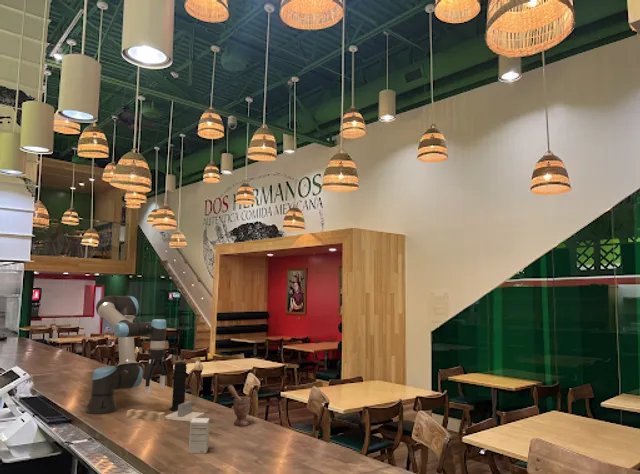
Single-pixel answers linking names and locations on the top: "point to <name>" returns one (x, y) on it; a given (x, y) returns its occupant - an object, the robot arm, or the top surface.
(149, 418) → the maple bar
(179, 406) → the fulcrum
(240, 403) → the mortar and pestle
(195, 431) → the supplement box
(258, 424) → the top surface
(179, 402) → the handle grip
